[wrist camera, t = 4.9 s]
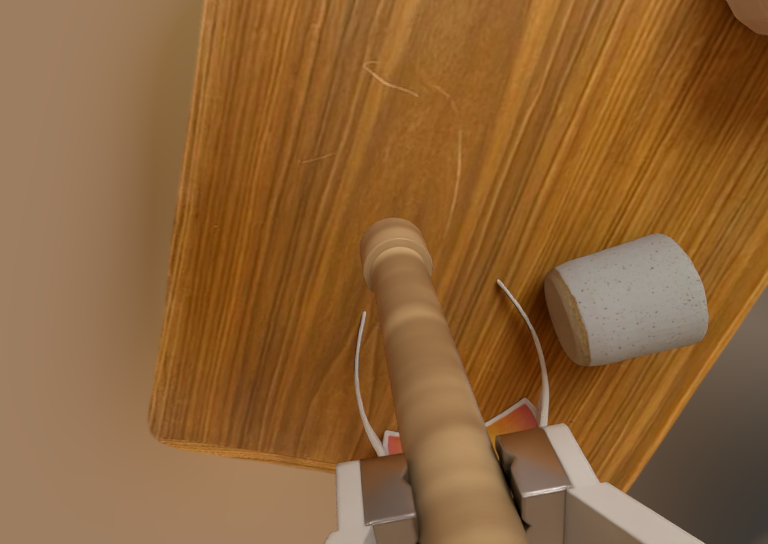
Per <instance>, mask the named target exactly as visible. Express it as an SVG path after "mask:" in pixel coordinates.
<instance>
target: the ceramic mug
mask: <svg viewBox="0 0 768 544" xmlns="http://www.w3.org/2000/svg"><path fill="white" fill-rule="evenodd" d="M544 291H545V298H546V303H547V307H548V311H549V314H550V318H551V321H552V324H553V327H554V330H555V332H556V335H557V337H558V339H559V342H560V344H561V346H562V348H563V350H564V351H565V353H566V354H567V355H568V357H569V359H570V360H571V361H573V362H574V363H576V364H578V365H580V366H599V365H606V364H611V363H615V362H619V361H622V360H626V359H630V358H634V357H639V356H643V355H648V354H652V353H657V352H661V351H666V350H670V349H675V348H680V347H684V346H689V345H692V344H695V343H698V342H700V341H701V340H702V339H703V338H704V336H705V335H706V332H707V328H708V315H709V314H708V308H707V300H706V295H705V291H704V287H703V284H702V282H701V279H700V277H699V275H698V273H697V271H696V270H695V267H694V265H693V263H692V261H691V260H690V258H689V257H688V255H687V254H686V253H685V252H684V251H683V249H682V248H681V247H680V246H679V245H678V244H677V243H676V242H675V241H674V240H673V239H672V238H670V237H668V236H666V235H663V234H652V235H648V236H645V237H642V238H640V239H636V240H633V241H630V242H627V243H624V244H621V245H618V246H615V247H612V248H608V249H605V250H602V251H599V252H596V253H593V254H590V255H587V256H584V257H580V258H577V259H573V260H570V261H567V262H565V263H563V264H561V265H559V266H557V267H555V268H554V269H552V270H551V271H550V272H549V273H548V274H547V276H546V278H545V281H544Z"/></svg>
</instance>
